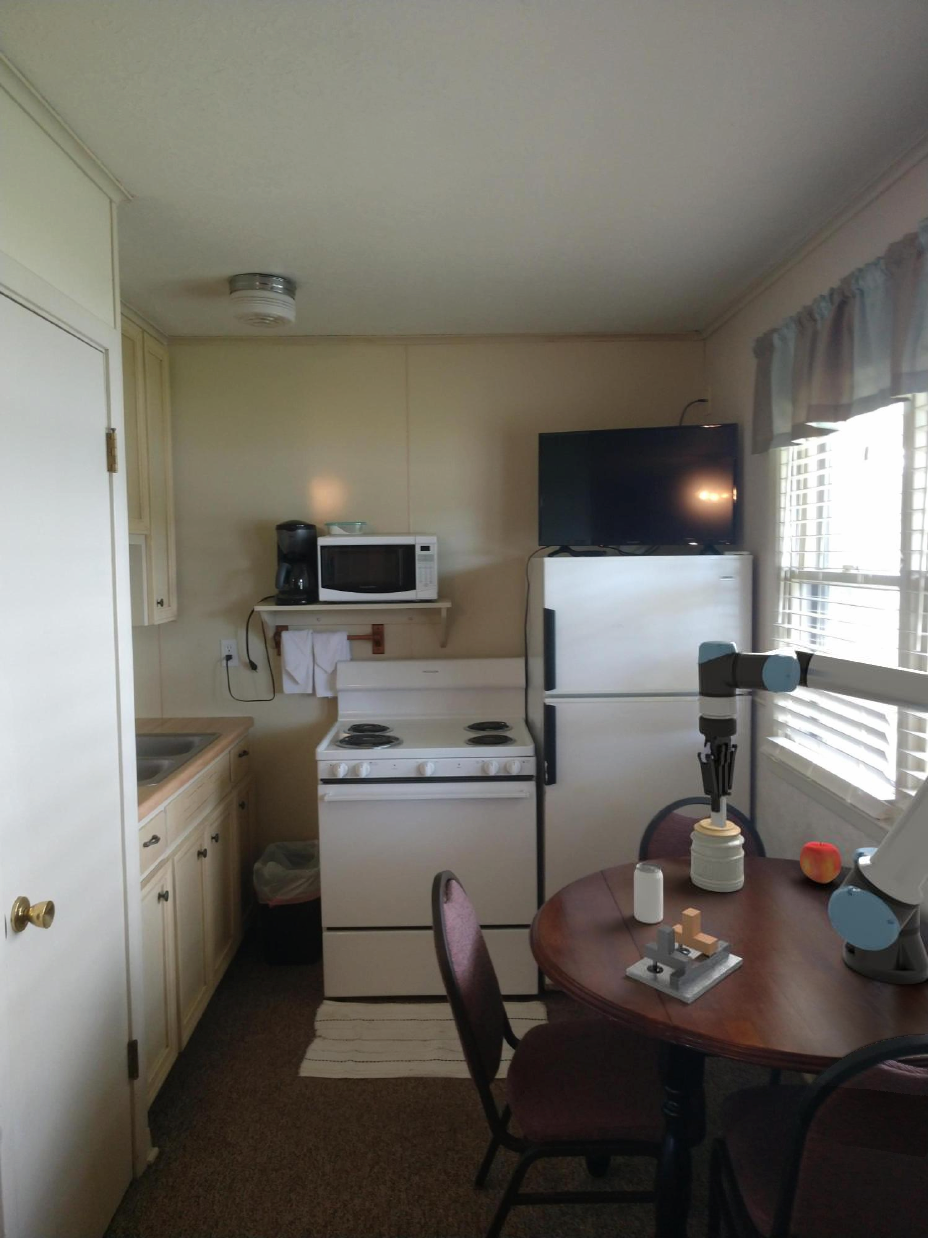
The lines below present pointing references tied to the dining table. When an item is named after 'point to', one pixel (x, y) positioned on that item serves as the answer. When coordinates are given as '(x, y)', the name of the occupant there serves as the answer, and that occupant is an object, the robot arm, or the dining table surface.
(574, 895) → the dining table surface
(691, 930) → the orange t-shaped block
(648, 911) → the can
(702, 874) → the jar
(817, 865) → the apple
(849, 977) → the dining table surface
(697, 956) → the grey assembly fixture
